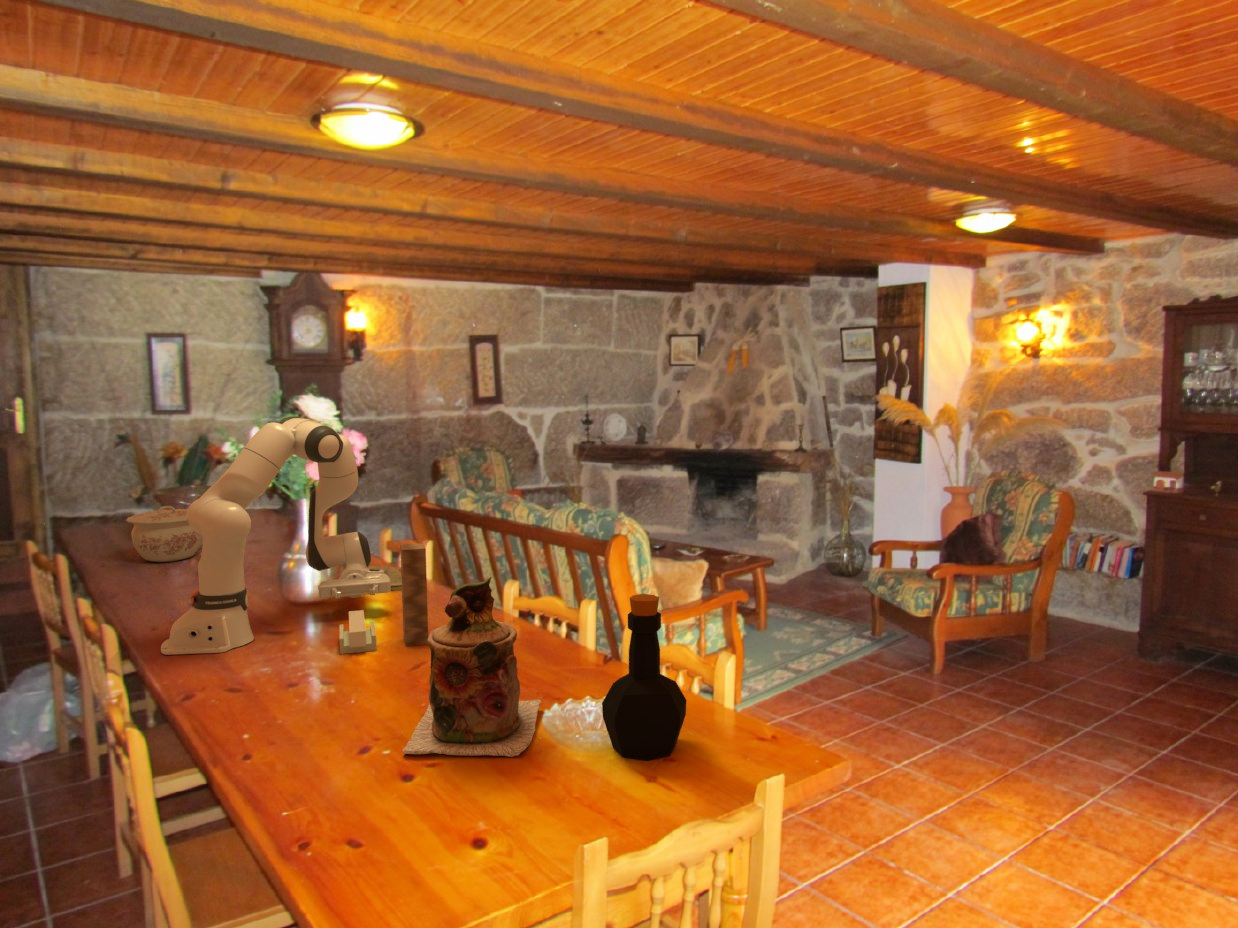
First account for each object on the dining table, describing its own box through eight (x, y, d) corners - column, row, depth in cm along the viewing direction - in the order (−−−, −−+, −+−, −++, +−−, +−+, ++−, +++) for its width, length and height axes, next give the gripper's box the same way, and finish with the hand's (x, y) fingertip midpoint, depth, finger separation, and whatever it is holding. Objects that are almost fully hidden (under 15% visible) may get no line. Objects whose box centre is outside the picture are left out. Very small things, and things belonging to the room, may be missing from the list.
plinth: (405, 646, 229) (402, 549, 226) (403, 638, 236) (400, 544, 233) (428, 643, 231) (425, 548, 228) (426, 636, 238) (423, 543, 235)
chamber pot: (111, 565, 323) (107, 510, 321) (161, 550, 350) (158, 499, 347) (179, 568, 318) (175, 512, 316) (225, 552, 345) (222, 500, 343)
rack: (340, 653, 223) (339, 638, 223) (340, 638, 236) (339, 624, 235) (376, 650, 226) (375, 635, 226) (374, 635, 238) (373, 621, 238)
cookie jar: (430, 707, 189) (426, 563, 185) (543, 708, 188) (541, 564, 184) (399, 759, 164) (393, 594, 160) (528, 760, 163) (525, 595, 160)
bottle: (600, 731, 176) (599, 587, 172) (680, 728, 177) (681, 585, 174) (604, 767, 160) (603, 609, 157) (692, 764, 161) (693, 607, 158)
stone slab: (393, 562, 314) (409, 578, 287) (393, 573, 314) (409, 590, 287) (358, 565, 309) (371, 581, 282) (358, 577, 309) (371, 594, 282)
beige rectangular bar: (350, 647, 222) (349, 632, 222) (349, 625, 241) (348, 611, 241) (366, 645, 223) (365, 630, 223) (364, 623, 242) (363, 610, 242)
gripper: (317, 574, 257) (316, 585, 244) (388, 569, 263) (391, 580, 250) (318, 595, 258) (317, 607, 245) (389, 589, 264) (392, 601, 251)
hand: (355, 593), depth 247 cm, fingers open, 8 cm apart
